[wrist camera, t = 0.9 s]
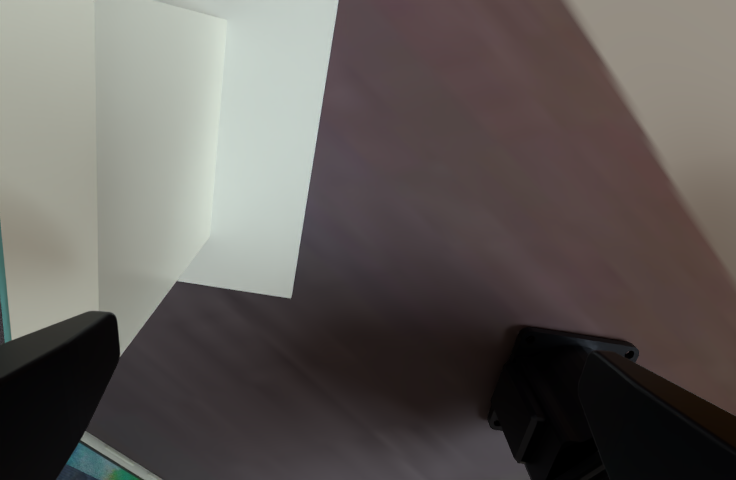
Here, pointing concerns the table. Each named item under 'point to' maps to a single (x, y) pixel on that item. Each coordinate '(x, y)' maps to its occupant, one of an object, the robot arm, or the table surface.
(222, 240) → the mat
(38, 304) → the tile
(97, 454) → the smartphone
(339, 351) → the table surface
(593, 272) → the table surface
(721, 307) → the table surface
